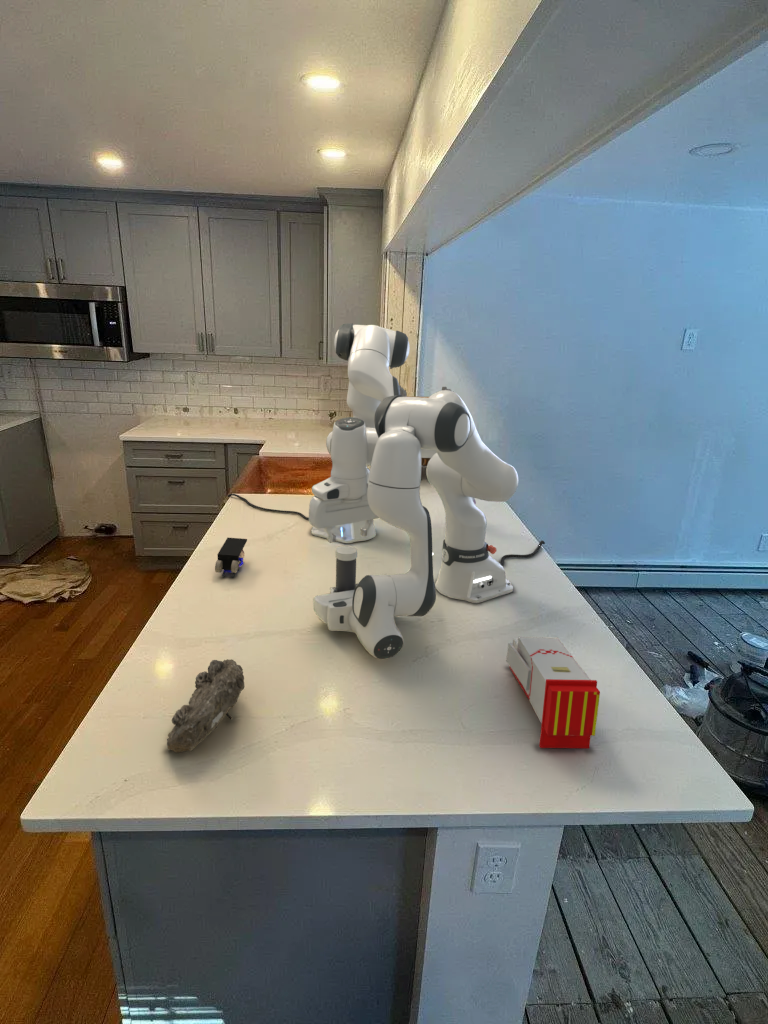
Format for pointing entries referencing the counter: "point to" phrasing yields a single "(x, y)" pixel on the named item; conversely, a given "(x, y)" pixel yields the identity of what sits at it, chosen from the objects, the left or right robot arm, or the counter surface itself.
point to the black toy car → (230, 556)
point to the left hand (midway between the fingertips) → (348, 538)
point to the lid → (346, 553)
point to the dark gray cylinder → (345, 575)
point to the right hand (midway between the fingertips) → (344, 587)
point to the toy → (555, 691)
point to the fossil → (206, 705)
